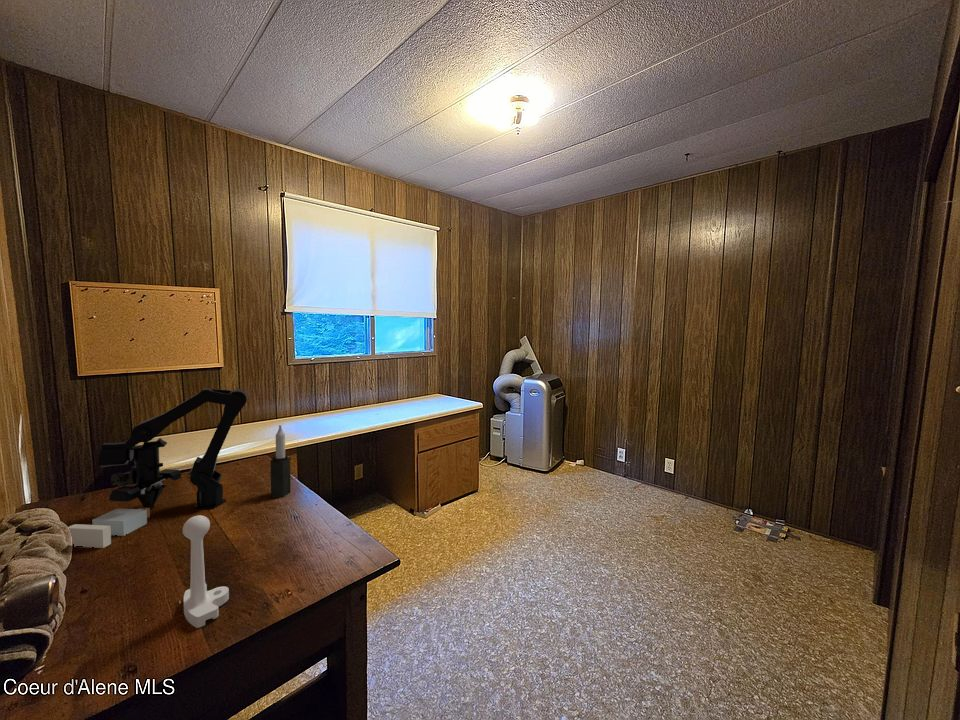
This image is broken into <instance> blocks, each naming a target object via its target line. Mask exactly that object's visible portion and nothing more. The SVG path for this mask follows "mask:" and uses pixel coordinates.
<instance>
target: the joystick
mask: <svg viewBox="0 0 960 720" xmlns="http://www.w3.org/2000/svg"><path fill="white" fill-rule="evenodd" d="M210 527H211V521H210V520H209V518H208V517H206V516H205V515H195V516H192V517H190V518H188V519H187V520H186V521H185V522H184V524H183V526H182V534H183V535H184V537H186V538H187V539H188V540H190V588H188V589H186V590H185V592H184V594H183V614H184V617H185V620H186V621H187V622H188V623H189V624H190V625H191V626H193V627H194V628H196V629H198V628H199V629H200V628H201V627H204V626H206V621H207V620H210V619H213V620H215V619H217V618H218V617H219V615H220V613H219V612H220V611H219V607H221V606H223V605H224V604H225V603H227V602H228V600H229V599H230V589H229V587H228V586H217V587H215V588H212V589H210V590H208V588H207V586H208V585H207V583H206V575H205V574H206V572H205V559H204V558H205V556H204V555H205V554H204V537H205V535H207V533H208V532H209V530H210V529H211V528H210Z"/></svg>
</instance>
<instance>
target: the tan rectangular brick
mask: <svg viewBox="0 0 960 720" xmlns="http://www.w3.org/2000/svg"><path fill="white" fill-rule="evenodd" d="M137 509H141V510H147V519H148V518H150V517H151V511H150V508H144V507H143V506H142V507H139V508H137Z"/></svg>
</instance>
